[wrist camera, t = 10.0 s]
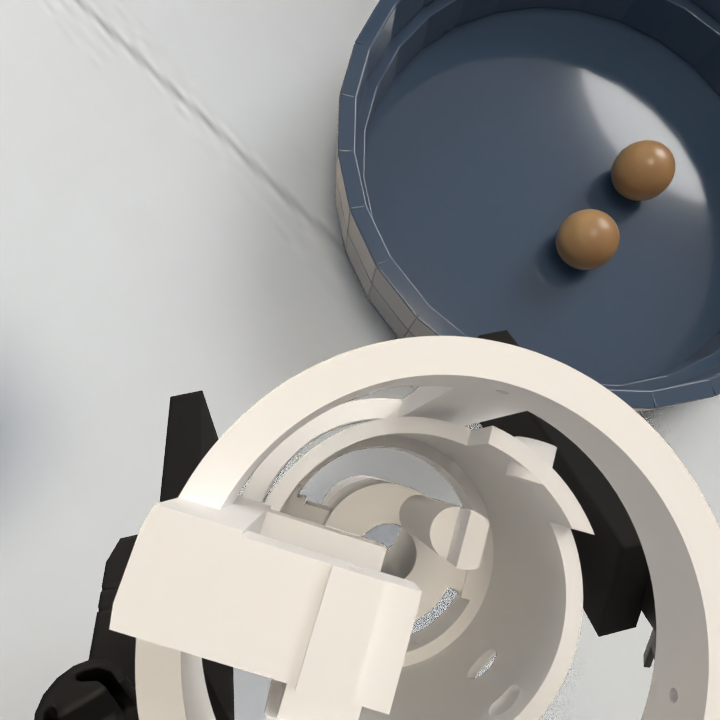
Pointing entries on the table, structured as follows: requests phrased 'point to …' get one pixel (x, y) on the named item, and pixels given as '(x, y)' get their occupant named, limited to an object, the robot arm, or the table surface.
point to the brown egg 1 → (587, 239)
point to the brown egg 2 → (643, 170)
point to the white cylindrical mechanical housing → (415, 548)
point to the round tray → (539, 180)
